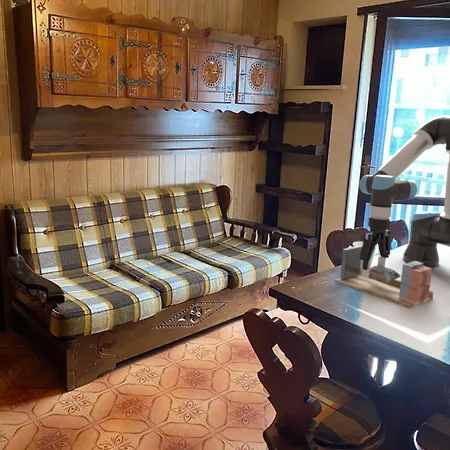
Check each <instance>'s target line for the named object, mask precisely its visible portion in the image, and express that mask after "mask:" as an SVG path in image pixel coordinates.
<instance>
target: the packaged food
mask: <svg viewBox="0 0 450 450" xmlns="http://www.w3.org/2000/svg"><path fill="white" fill-rule="evenodd" d="M361 274H362V273H361ZM401 277H402V275H400V274H399V273H398V271H396V270H395V269H392V268H389V267H386V266H385V267H382V266H377V265H374V266H372V267H370V274H369V278H371V279H374V280H377V281H381V282H389V281H392V280H398V279H399V278H401Z"/></svg>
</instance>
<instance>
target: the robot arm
mask: <svg viewBox="0 0 450 450" xmlns="http://www.w3.org/2000/svg"><path fill="white" fill-rule="evenodd" d="M437 145H445V146H444V147H445V148H444V151H446V153H447V154H448V159H447V160H448V161H447V171H446V182H445V184H446V185H445V193H444V194H445V195H444V206H443V211H442V212H440V211H432V210H431V211H429V210H427V211H425V210H423V211H415V212H414V213H413V214H412V217H411V220H410V222H411V225H410V233H409V240H408V241H409V242H408V244H407V246H406V248H405V250H404V253H403V255H402V260H403V261H404V262H405V263H409V262H413V261H418V262H421V263H424V264H423V266H426V267H436V266H439V264H440V256H439V250H438V244H439V245H443V246H446V247H450V115H446V114H445V115H440V116H436V117H433V118H432V119H429V120H428V121H427V122H425V123H423V124H422V125H420V126H419V127H418V128H417V129H416V130H415V131H414V132H413V134H412V136H411V137H410V139H409V140H408V141H406V142H405V144H404V145H403V146H402V147H400V148H399V149H398V150H397V151H396V152H395V153H394V154H393V155H392V156H391V157H390V158H389V159H387V161H386V162H384V164H382V165H381V166H380V167H379V168H378V169H377V170H376V171H375V172H374V173H373V174H366V175H363V176H362V177H361V179H360V180H359V186H358V187H359V190H360V192H362V193H364V194H365V195H369V196H371V197H370V203H369V204H370V205H369V212H368V213H369V217H368V221H367V226H368V228H369V229H370V230H369V232H368V233H365V232H364V234H363V241H362V242H363V245H362V249H361V253H360V258H359V259H361V260H363V267H362V268H363V270H362V277H364V278H367V279H369V274H370V268H371V267H370V265H371V266H372V263H371V262H370V258H371V256H372V253H373V250H374V248H375V245H377V246H378V250H379V256H378V257H377V258H378V259H377V265H376V266H382V267H386V260H387V259H388V258H389V257H390V255H391V234H392V231H391V230H388V229H389V228H390V223H391V219H390V218H391V216H392V208H393V207H392V206H393V202H394V201H410V200H412V199H413V198H415V197H416V195H417V192H418V187H417V184H416V183H415V182H414V181H413V180H410V179H409V180H408V179H397V178H398V177H399V176H400V175H402V173H404V172H405V171H406V169H408V168H409V167H410V166H411V164H413V163H414V162H415V161H416V160H417V159H418V158H419V157H420V156H421V155H422V154H423V153H424V152H425V151H427V150H430V149H432V148H433V147H434V146H437ZM367 257H368V258H367Z"/></svg>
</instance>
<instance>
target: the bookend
mask: <svg viewBox="0 0 450 450" xmlns="http://www.w3.org/2000/svg"><path fill="white" fill-rule="evenodd" d="M361 249H362V246H355V247H353V246H351V247H346V248H342V256H341V266H340V277H339V278H340V279H343V280H344V279H348V278H352V277H355V276H359V273H360V263H361V259H359V258H360V253H361Z"/></svg>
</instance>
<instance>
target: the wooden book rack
mask: <svg viewBox="0 0 450 450" xmlns="http://www.w3.org/2000/svg"><path fill="white" fill-rule="evenodd" d="M423 264H424V263H421V262H418V261H413V262H409V263H407V262H405V263H403V264H402V271H401V277H400V280H398V279H395V280H392V281H389V282H381V281H377V280H374V279H371V278H369V279H367V278H364V277H362V274H361V273H362V270H363V269H360V273H359V276H355V277H352V278H348V279H344V280H343V279H340V277H339V278H335V281H336V282H339V283H341V284H342V285H346V286H348V287H350V288H353V289H356V290H357V291H360V292H363V293H365V294H369V295H372V296H374V297H378V298H380V299H383V300H385V301H389V302H391V303H395V304H396V305H400V306H403V307H406V308H408V309H411V308H414V307H416V306H419V305H422V304H424V303H426V302H430V301H432V300H433V299H434V291H433V290H430V288H431V282H432V281H431V280H432V273H433V267H430V266H423Z"/></svg>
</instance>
